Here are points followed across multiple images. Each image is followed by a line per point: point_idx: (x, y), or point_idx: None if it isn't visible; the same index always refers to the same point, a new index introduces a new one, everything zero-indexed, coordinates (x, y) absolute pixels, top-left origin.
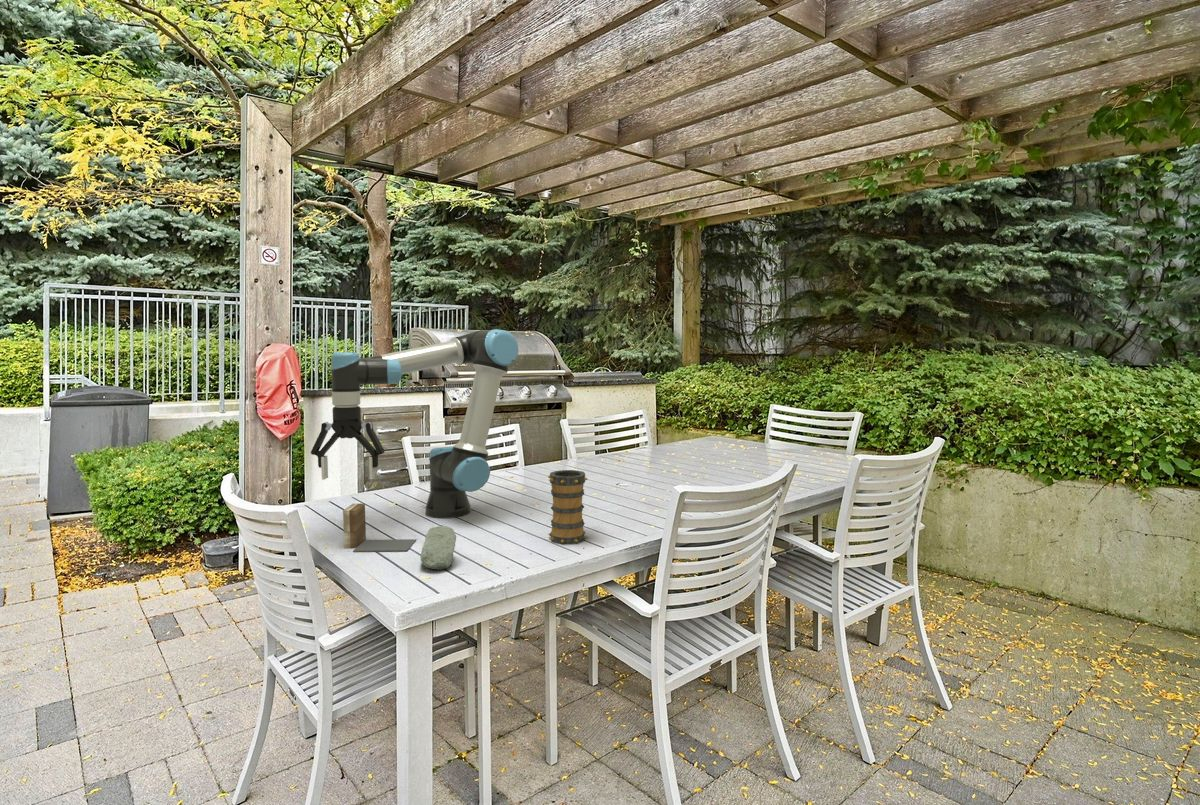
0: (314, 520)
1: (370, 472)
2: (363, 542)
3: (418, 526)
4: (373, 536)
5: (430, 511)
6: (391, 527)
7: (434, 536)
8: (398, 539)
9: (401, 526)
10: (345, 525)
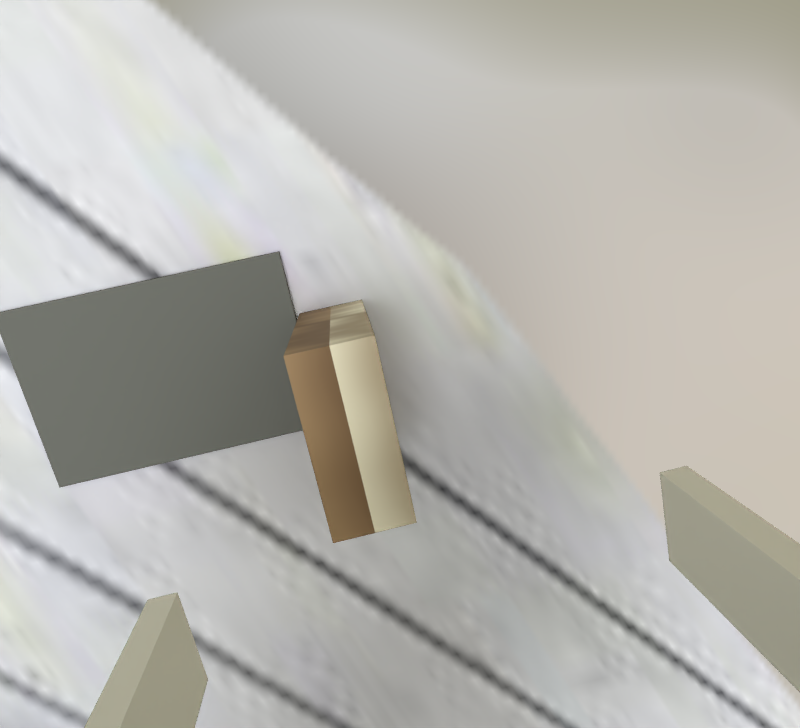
0: (738, 642)
1: (138, 651)
2: None
3: None
4: None
5: None
6: (318, 638)
7: None
8: (152, 465)
9: (278, 663)
10: (355, 320)
